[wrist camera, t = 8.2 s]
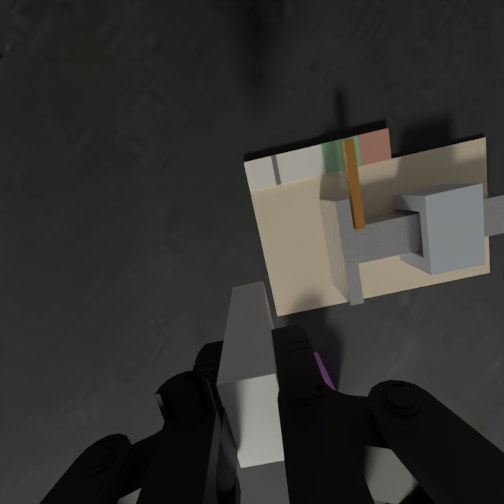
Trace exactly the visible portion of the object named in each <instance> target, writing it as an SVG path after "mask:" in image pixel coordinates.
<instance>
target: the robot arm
mask: <svg viewBox="0 0 504 504" xmlns="http://www.w3.org/2000/svg"><path fill="white" fill-rule="evenodd" d="M155 397H156V400H157V402H158V405H159V408H160V410H161V413H162V416H163V418H164V421H165V423H164V426H163V428H162V430H161V431H159V432H157V433H155V434H154V435H152V436H150V437H147V438H145V439H143V440H141V441H139V442H137V443H135V444H132V445H131V443H130V441H129V439H128V437H127V436H126V435H123V434H120V433H119V434H113V435H109V436H106V437H104V438H102V439H100V440H98V441H96V442H95V443H94V444H92V445H91V446H89V447H88V448H87V449H86V450H85V451H84V452H83V453H82V454H81V455H80V456H79V457H78V458H77V459H76V460H75V461H74V463H73V464H72V465H71V466H70V467H69V469H68V470H67V471H66V472H65V473H64V475H63V476H62V477H61V478H60V479H59V481H58V482H57V483H56V484H55V485H54V487H53V488H52V489H51V490H50V491H49V493H48V494H47V495H46V496H45V498H44V499H43V500H42V501H41V502H40V504H240V497H241V490H240V483H239V479H238V476H237V473H236V468H237V456H238V459H239V462H240V466H241V468H244V467H249V466H255V465H261V464H266V463H272V462H277V461H283V460H285V469H286V477H287V485H288V494H289V502H290V504H375V503H374V500H377V501H382V502H386V504H504V452H502V451H501V450H500V449H499V448H497V447H496V446H495V445H493V444H492V443H491V442H490V441H488V440H487V439H486V438H485V437H483V436H482V435H481V434H480V433H478V432H477V431H476V430H475V429H473V428H472V427H471V426H470V425H468V424H467V423H466V422H465V421H463V420H462V419H461V418H460V417H458V416H457V415H456V414H455V413H453V412H452V411H451V410H450V409H448V408H447V407H446V406H445V405H443V404H442V403H441V402H440V401H438V400H437V399H436V398H435V397H433V396H432V395H431V394H430V393H428V392H427V391H425V390H424V389H422V388H420V387H419V386H417V385H415V384H412V383H409V382H405V381H398V380H389V381H384V382H380V383H378V384H377V385H375V386H374V387H372V389H371V391H370V393H369V394H368V397H365V396H353V395H347V394H343V393H340V392H338V391H336V390H334V389H332V388H331V387H330V386H329V385H328V384H327V383H326V382H325V380H324V379H323V377H322V374H321V371H320V368H319V366H318V363H317V360H316V358H315V355H314V352H313V350H312V347H311V344H310V342H309V339H308V336H307V334H306V331H305V330H304V329H303V328H301V327H300V326H299V325H292V326H287V327H282V328H277V329H274V327H273V322H272V318H271V313H270V309H269V305H268V300H267V296H266V291H265V287H264V282H263V281H261V282H256V283H252V284H247V285H242V286H238V287H233V289H232V295H231V301H230V307H229V313H228V319H227V325H226V331H225V337H224V340H223V341H218V342H213V343H208V344H205V346H204V347H203V348H202V349H201V350H200V352H199V353H198V355H197V358H196V361H195V365H194V368H193V371H186V372H183V373H180V374H177V375H175V376H174V377H172V378H170V379H168V380H167V381H166V382H165V383H164V384H163V385H161V386H160V388H159V389H158V391H157V392H156V394H155Z"/></svg>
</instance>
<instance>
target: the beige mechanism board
mask: <svg viewBox="0 0 504 504" xmlns="http://www.w3.org/2000/svg"><path fill="white" fill-rule="evenodd" d="M352 138H354V144H355V151H356V159H357V167H358V174H359V182H360V189H361V197H362V205H363V212H364V219H366V218H371V217H376V216H380V215H385V214H389V213H394V212H398V211H403V210H409V211H417V212H420V222H421V233H422V245H423V250H421V251H416V252H411V253H407V254H402V255H397V256H392V257H388V258H383V259H378V260H374V261H369V262H364V263H359V264H358V265H359V272H360V279H361V286H362V293H363V299H364V298H369V297H374V296H379V295H384V294H388V293H393V292H398V291H403V290H408V289H413V288H418V287H422V286H427V285H432V284H437V283H442V282H447V281H452V280H456V279H461V278H466V277H471V276H476V275H481V274H486V273H490V264H489V236H487V237H484V210H483V194H487V166H486V137H485V138H480V139H476V140H471V141H467V142H463V143H458V144H454V145H450V146H445V147H441V148H436V149H432V150H428V151H423V152H419V153H415V154H410V155H406V156H401V157H397V158H393V159H391V149H390V140H389V130H388V128H387V129H382V130H378V131H374V132H370V133H365V134H361V135H357V136H353V137H348V138H344V139H340V140H336V141H331V142H327V143H323V144H320V145H316V146H312V147H307V148H303V149H299V150H295V151H290V152H286V153H282V154H277V155H272V156H269V157H265V158H260V159H256V160H252V161H248V162H244V166H245V170H246V175H247V179H248V184H249V188H250V193H251V197H252V202H253V206H254V211H255V216H256V220H257V225H258V229H259V234H260V238H261V243H262V247H263V252H264V257H265V261H266V266H267V270H268V275H269V279H270V284H271V288H272V293H273V298H274V302H275V307H276V311H277V316H281V315H286V314H291V313H296V312H301V311H306V310H311V309H316V308H320V307H325V306H330V305H335V304H340V303H345V302H347V300H346V299H345V298H344V297H343V296H342V295H341V293H340V292H339V291H338V290H337V289H336V288H335V286H334V285H333V280H332V274H331V268H330V262H329V256H328V250H327V244H326V238H325V232H324V225H323V219H322V213H321V207H320V201H319V200H320V199H324V198H329V197H336V198H346V199H349V193H348V186H347V179H346V171H345V164H344V157H343V150H342V143H341V142H342V141H344V140H348V139H352ZM349 201H350V200H349ZM350 208H351V207H350ZM351 215H352V214H351ZM352 222H353V221H352Z"/></svg>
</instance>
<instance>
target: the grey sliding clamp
mask: <svg viewBox="0 0 504 504" xmlns="http://www.w3.org/2000/svg"><path fill="white" fill-rule="evenodd" d="M341 143H342V150H343V157H344V164H345V171H346V179H347V186H348V193H349V199H346V198H336V197H329V198H324V199H320V200H319V201H320V207H321V213H322V219H323V225H324V232H325V238H326V244H327V250H328V256H329V262H330V268H331V274H332V280H333V285H334V286H335V288H336V289H337V290H338V291H339V292H340V293H341V295H342V296H343V297H344V298H345V299H346V300H347V302H348V303H349V304H350V305H356V304H361V303H364V300H363V293H362V286H361V279H360V272H359V265H358V264H359V263H364V262H369V261H374V260H378V259H383V258H388V257H392V256H397V255H402V254H407V253H411V252H416V251H421V250H423V245H422V233H421V222H420V212H417V211H409V210H403V211H398V212H394V213H389V214H385V215H380V216H376V217H371V218H366V219H364V212H363V205H362V197H361V189H360V182H359V174H358V167H357V159H356V151H355V144H354V138H352V139H348V140H344V141H342V142H341ZM349 200H350V201H349ZM350 207H351V208H350ZM483 210H484V237H487V236H492V235H496V234H501V233H504V194H483ZM351 214H352V215H351ZM352 221H353V222H352Z"/></svg>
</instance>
